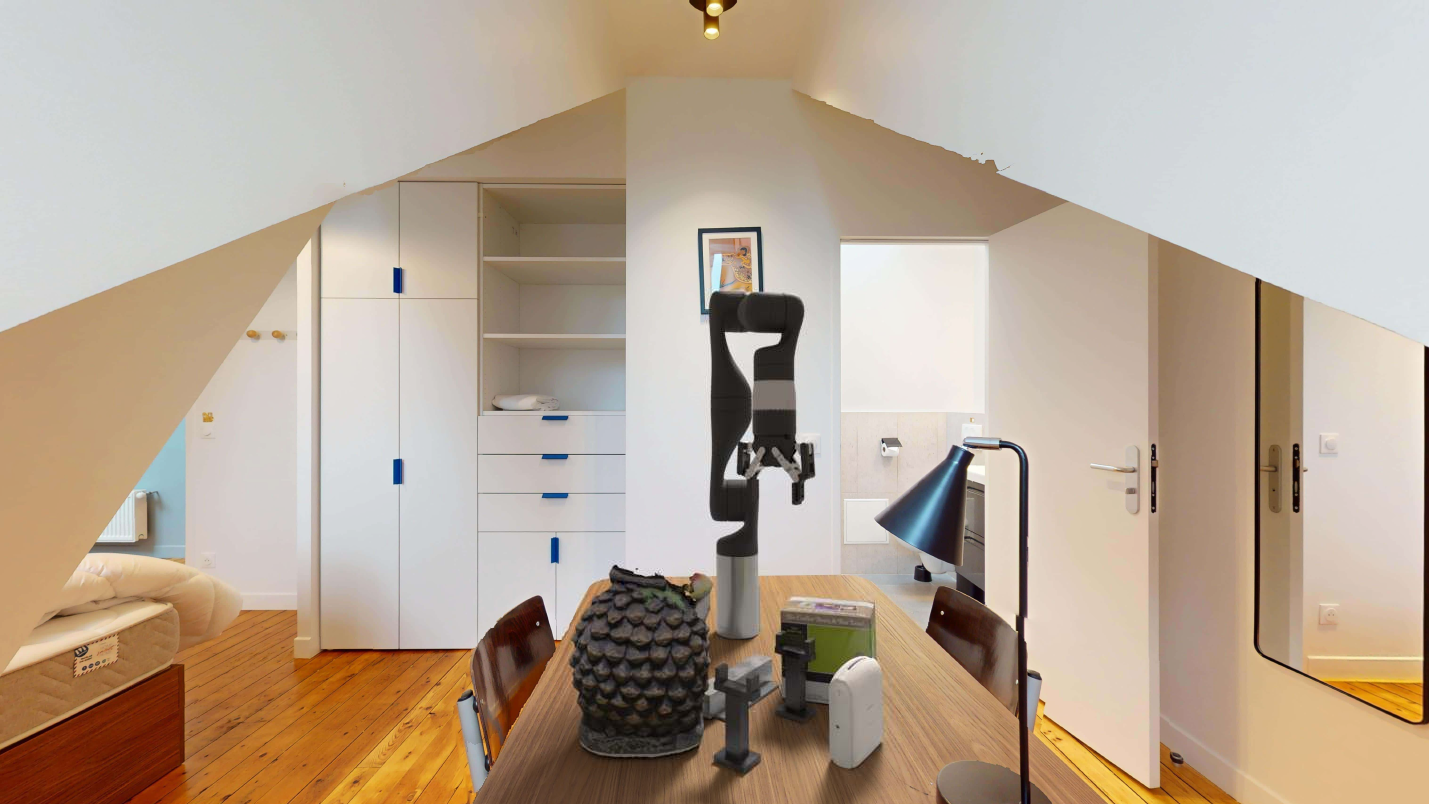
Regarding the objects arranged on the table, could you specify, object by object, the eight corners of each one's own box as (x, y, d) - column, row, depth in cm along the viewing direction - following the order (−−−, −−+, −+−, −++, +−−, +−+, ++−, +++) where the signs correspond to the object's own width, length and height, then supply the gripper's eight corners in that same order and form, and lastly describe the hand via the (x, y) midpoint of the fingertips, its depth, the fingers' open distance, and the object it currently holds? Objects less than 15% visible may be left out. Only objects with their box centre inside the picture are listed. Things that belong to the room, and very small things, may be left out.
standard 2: (784, 703, 96) (783, 628, 96) (820, 714, 92) (819, 637, 92) (771, 712, 92) (771, 635, 93) (807, 725, 88) (807, 644, 89)
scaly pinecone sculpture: (712, 712, 92) (712, 553, 93) (714, 768, 77) (714, 578, 78) (580, 714, 92) (581, 554, 93) (556, 771, 77) (557, 579, 78)
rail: (755, 673, 106) (755, 653, 106) (772, 678, 104) (772, 658, 104) (692, 712, 92) (692, 689, 92) (709, 718, 90) (709, 695, 90)
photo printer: (854, 774, 76) (853, 677, 77) (825, 761, 79) (824, 668, 79) (887, 741, 84) (886, 653, 85) (859, 731, 87) (858, 646, 87)
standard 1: (726, 746, 83) (726, 660, 83) (765, 762, 79) (764, 671, 79) (709, 759, 80) (709, 669, 80) (748, 776, 76) (748, 682, 76)
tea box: (877, 686, 102) (876, 600, 102) (873, 713, 92) (872, 618, 93) (792, 674, 107) (791, 592, 107) (780, 699, 97) (779, 609, 98)
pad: (740, 674, 106) (740, 672, 106) (778, 686, 101) (778, 684, 101) (687, 706, 94) (687, 704, 94) (727, 722, 89) (727, 719, 89)
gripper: (821, 407, 99) (822, 503, 99) (751, 409, 108) (752, 497, 107) (800, 406, 93) (800, 508, 93) (727, 408, 102) (728, 501, 101)
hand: (774, 502), depth 100 cm, fingers open, 8 cm apart
